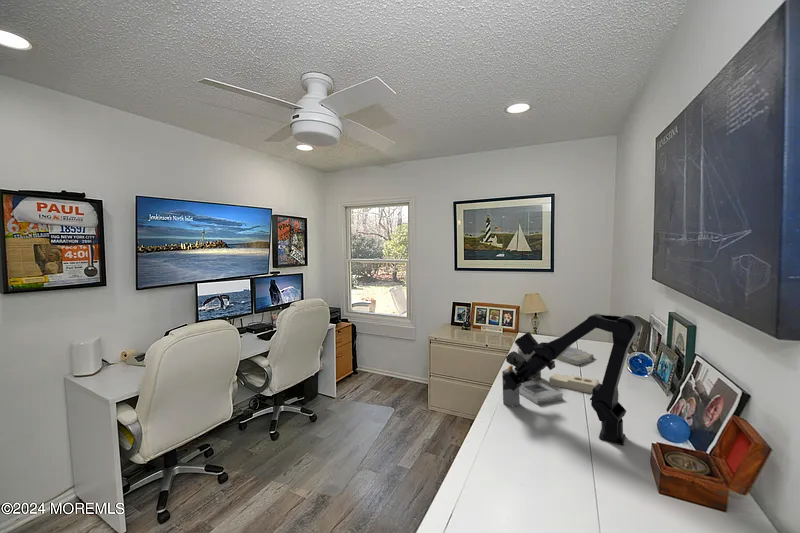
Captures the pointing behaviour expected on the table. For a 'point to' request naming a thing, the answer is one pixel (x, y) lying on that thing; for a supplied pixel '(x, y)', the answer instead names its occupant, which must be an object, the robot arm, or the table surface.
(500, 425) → the table surface
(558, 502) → the table surface
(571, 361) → the fossil
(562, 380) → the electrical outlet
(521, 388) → the socket plate
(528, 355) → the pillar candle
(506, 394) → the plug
